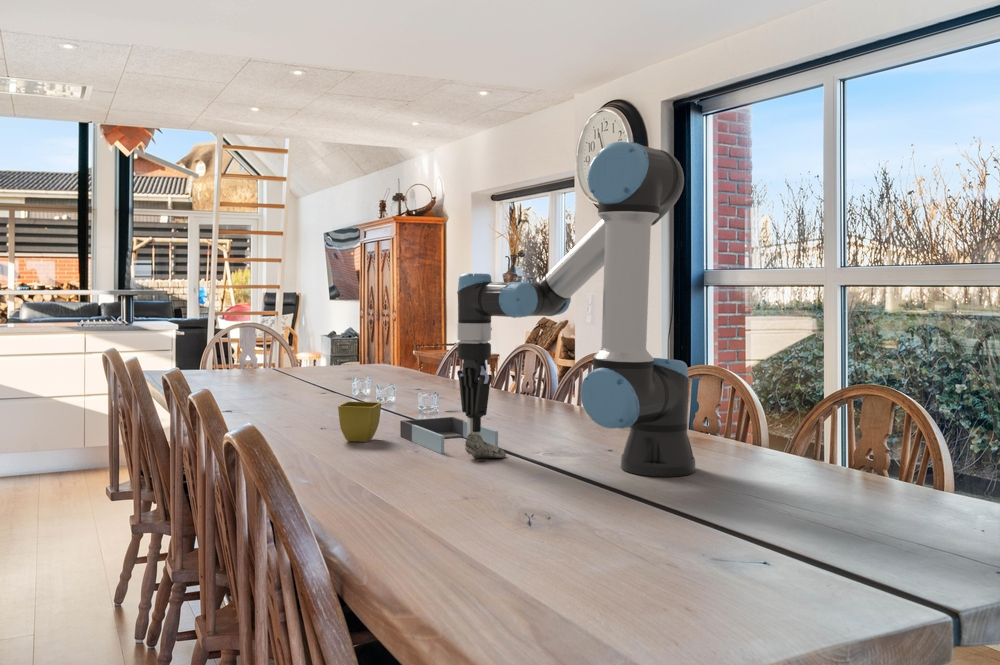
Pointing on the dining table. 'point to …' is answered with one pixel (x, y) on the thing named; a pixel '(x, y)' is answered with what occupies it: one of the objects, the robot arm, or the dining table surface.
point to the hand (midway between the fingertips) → (473, 445)
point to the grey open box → (434, 427)
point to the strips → (437, 440)
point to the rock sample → (482, 448)
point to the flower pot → (359, 420)
